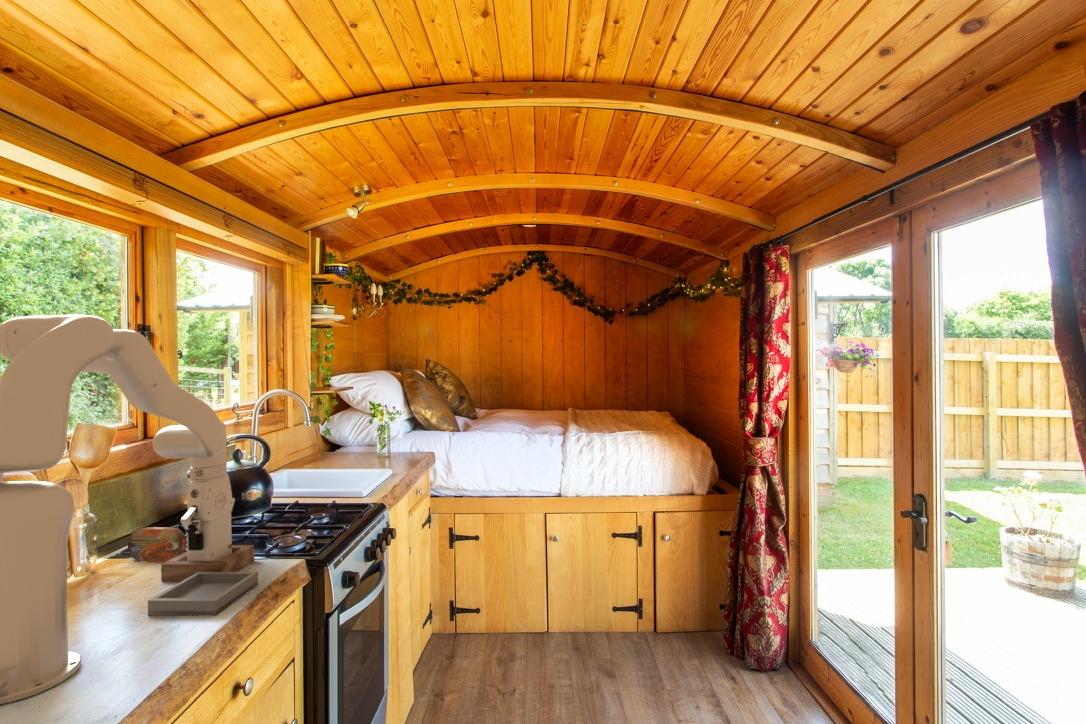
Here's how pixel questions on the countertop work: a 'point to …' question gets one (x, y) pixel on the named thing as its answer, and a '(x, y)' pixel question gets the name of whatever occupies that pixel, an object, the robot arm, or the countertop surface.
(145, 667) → the countertop surface
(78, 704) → the countertop surface
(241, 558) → the walnut holder
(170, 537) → the tin
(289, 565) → the countertop surface
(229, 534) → the skincare box
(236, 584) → the gray tray
